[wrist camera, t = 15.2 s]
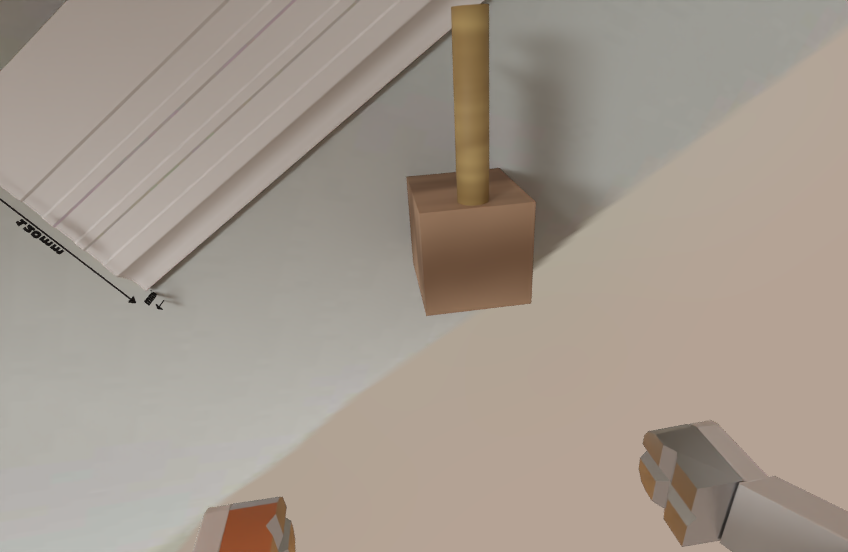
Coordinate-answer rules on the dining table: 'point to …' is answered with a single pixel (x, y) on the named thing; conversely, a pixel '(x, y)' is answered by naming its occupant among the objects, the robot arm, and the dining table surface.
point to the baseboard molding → (186, 111)
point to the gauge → (471, 199)
